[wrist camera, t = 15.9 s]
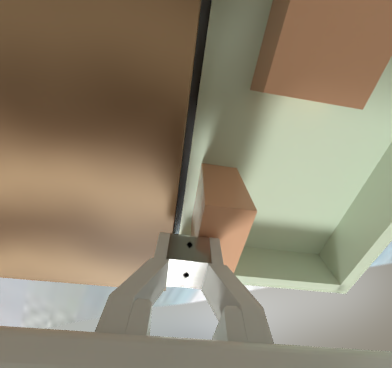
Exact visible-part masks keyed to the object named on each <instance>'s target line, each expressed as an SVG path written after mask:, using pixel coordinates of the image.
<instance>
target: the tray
mask: <svg viewBox="0 0 392 368" xmlns="http://www.w3.org/2000/svg"><path fill="white" fill-rule="evenodd" d="M272 2H273V0H212V1H211V8H210V15H209V22H208V29H207V37H206V44H205V51H204V58H203V65H202V72H201V79H200V86H199V93H198V101H197V108H196V115H195V122H194V129H193V136H192V143H191V150H190V157H189V165H188V172H187V179H186V186H185V193H184V200H183V207H182V214H181V221H180V229H179V234H182V235H191V219H192V213H193V208H194V202H195V197H196V191H197V186H198V180H199V175H200V169H201V163H205V164H212V165H219V166H226V167H233V168H237V170H238V172H239V174H240V176H241V178H242V180H243V182H244V184H245V186H246V188H247V190H248V192H249V195H250V197H251V199H252V201H253V203H254V205H255V207H256V209H257V214H256V216H255V219H254V222H253V224H252V227H251V229H250V232H249V235H248V237H247V240H246V243H245V245H244V248H243V251H242V253H241V256H240V258H239V261H238V264H237V266H236V269H235V272H234V274H235V276H236V277H237V278H238V279H239V280H240V281H241V283H242V284H243V285H252V286H263V287H275V288H286V289H297V290H309V291H320V292H332V293H343V294H346V293H347V292H348V291H349V289H350V288H351V287H352V286H353V285H354V284H355V283H356V281H357V280H358V279H359V278H360V277H361V275H362V274H363V273H364V272H365V271H366V270H367V269H368V268H369V266H370V265H371V264H372V263H373V262H374V261H375V259H376V258H377V257H378V256H379V255H380V254H381V253H382V251H383V250H384V249H385V248H386V247H387V246H388V244H389V243H390V242H391V241H392V56H391V58H390V60H389V62H388V64H387V66H386V68H385V69H384V71H383V73H382V75H381V77H380V79H379V81H378V83H377V84H376V86H375V88H374V90H373V92H372V94H371V96H370V97H369V99H368V101H367V103H366V105H365V107H364V109H363V110H361V109H355V108H350V107H344V106H338V105H332V104H327V103H321V102H315V101H309V100H303V99H298V98H292V97H286V96H280V95H275V94H269V93H263V92H258V91H252V90H250V87H251V83H252V79H253V75H254V72H255V68H256V64H257V60H258V56H259V52H260V48H261V44H262V41H263V37H264V33H265V29H266V25H267V21H268V17H269V13H270V9H271V6H272Z"/></svg>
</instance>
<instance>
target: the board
mask: <svg viewBox="0 0 392 368" xmlns="http://www.w3.org/2000/svg"><path fill="white" fill-rule="evenodd" d="M200 8H201V0H0V277H2V278H14V279H26V280H38V281H50V282H63V283H75V284H87V285H99V286H111V287H119V286H120V285H121V284H122V283H123V282H124V281H125V280H127V279H128V278H129V277H130V276H131V275H132V274H133V273H134V272H135V271H137V270H138V269H139V268H140V267H141V266H142V265H143V264H144V263H145V262H147V261H148V260H149V259H150V258H154V254H155V250H156V246H157V241H158V237H159V233H160V232H165V233H173V230H174V222H175V214H176V206H177V197H178V189H179V181H180V173H181V164H182V156H183V148H184V140H185V132H186V123H187V115H188V107H189V99H190V90H191V82H192V74H193V66H194V58H195V49H196V41H197V33H198V25H199V17H200ZM165 290H166V288H165ZM165 290H164V291H165Z"/></svg>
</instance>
